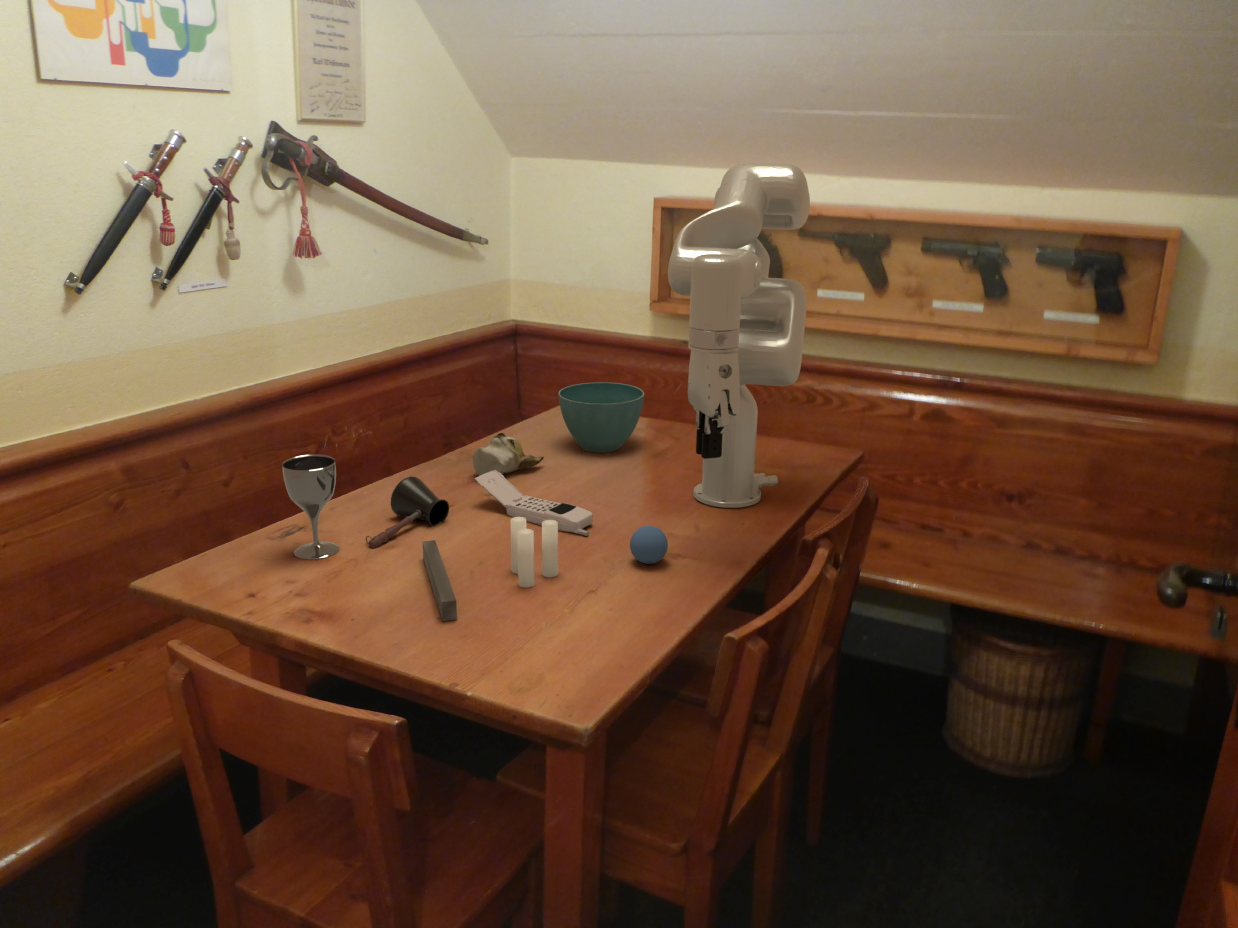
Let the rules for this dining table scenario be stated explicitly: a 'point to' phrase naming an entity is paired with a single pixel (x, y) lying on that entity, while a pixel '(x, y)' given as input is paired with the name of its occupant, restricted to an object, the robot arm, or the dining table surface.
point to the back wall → (439, 581)
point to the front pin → (550, 548)
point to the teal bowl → (601, 413)
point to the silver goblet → (311, 496)
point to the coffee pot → (412, 508)
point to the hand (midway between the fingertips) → (708, 454)
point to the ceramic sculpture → (502, 456)
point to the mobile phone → (535, 505)
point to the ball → (648, 544)
